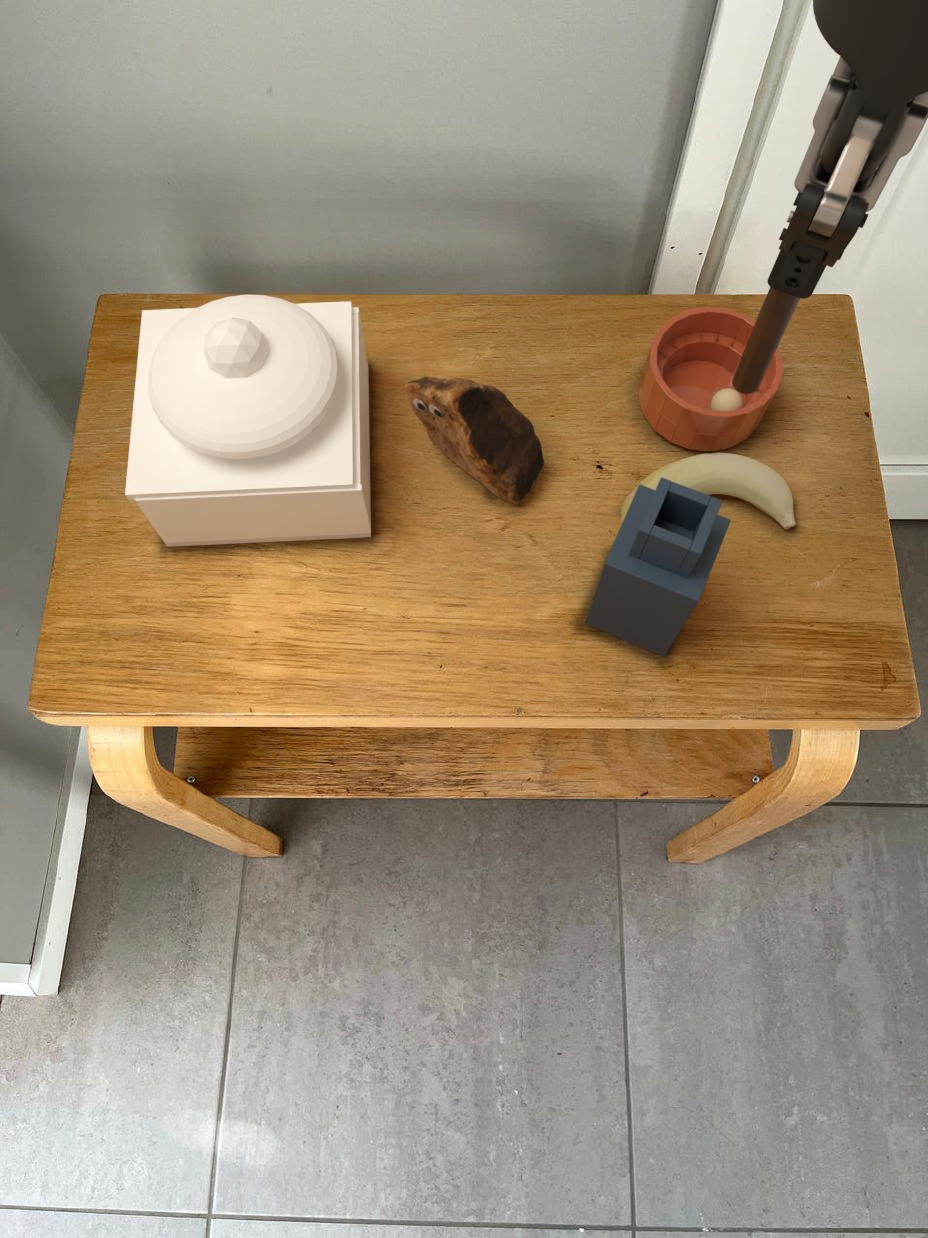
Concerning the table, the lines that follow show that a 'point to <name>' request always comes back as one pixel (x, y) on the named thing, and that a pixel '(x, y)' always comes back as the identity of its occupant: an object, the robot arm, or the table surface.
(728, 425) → the bowl
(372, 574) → the table surface
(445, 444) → the decorative rock
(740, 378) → the stick
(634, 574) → the holder
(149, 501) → the white lidded box
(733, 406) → the ball
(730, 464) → the fruit
